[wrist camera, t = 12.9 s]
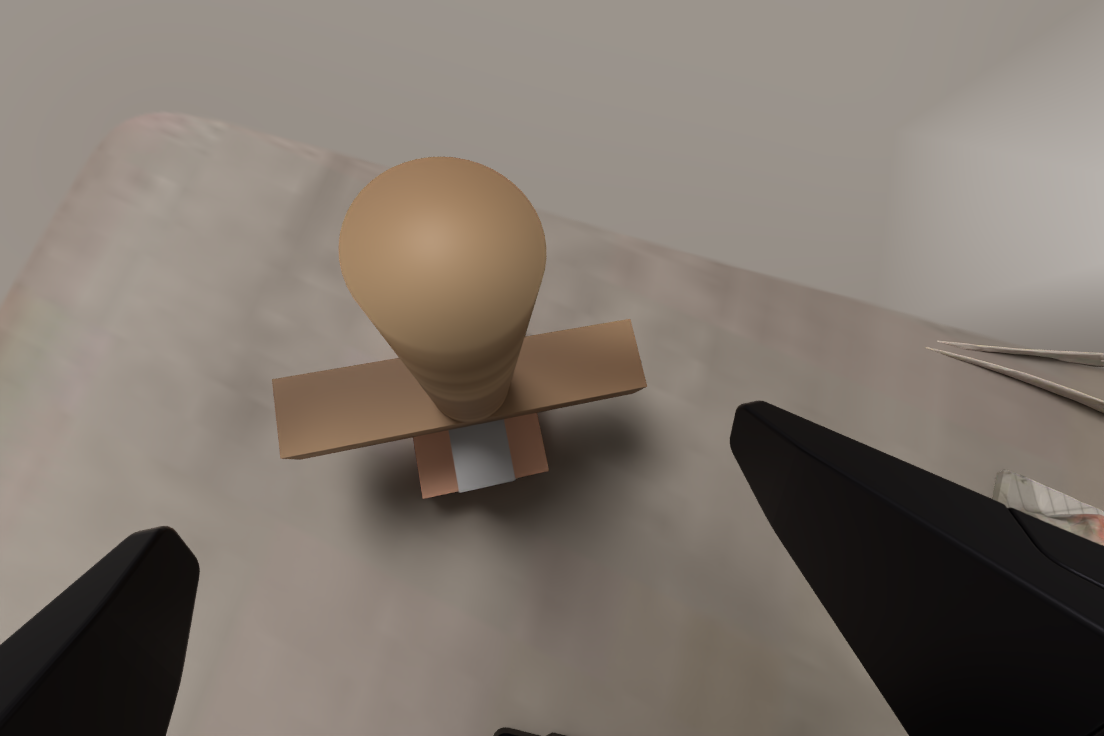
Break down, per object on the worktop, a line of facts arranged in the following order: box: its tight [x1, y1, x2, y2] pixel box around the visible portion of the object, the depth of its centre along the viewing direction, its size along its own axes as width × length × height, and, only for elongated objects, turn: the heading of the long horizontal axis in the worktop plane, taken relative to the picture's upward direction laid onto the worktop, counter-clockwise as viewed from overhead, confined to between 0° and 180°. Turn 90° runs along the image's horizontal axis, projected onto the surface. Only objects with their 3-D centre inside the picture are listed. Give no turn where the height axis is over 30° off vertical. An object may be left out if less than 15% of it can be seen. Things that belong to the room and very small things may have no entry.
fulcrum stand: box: [413, 413, 549, 499], centre depth 19 cm, size 7×5×4 cm
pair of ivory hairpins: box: [925, 341, 1104, 413], centre depth 26 cm, size 17×5×2 cm, turn 79°
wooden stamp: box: [272, 157, 647, 459], centre depth 12 cm, size 3×12×12 cm, turn 102°
